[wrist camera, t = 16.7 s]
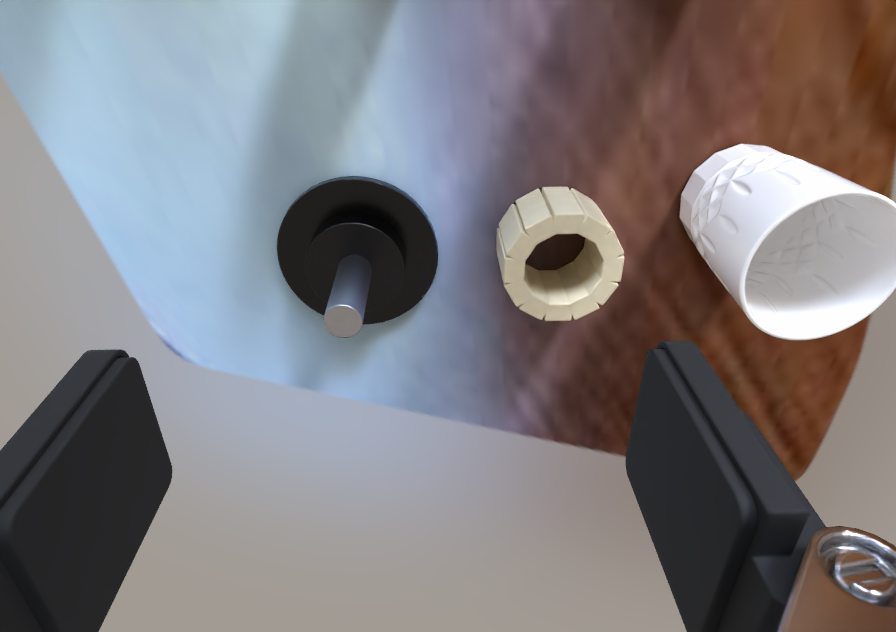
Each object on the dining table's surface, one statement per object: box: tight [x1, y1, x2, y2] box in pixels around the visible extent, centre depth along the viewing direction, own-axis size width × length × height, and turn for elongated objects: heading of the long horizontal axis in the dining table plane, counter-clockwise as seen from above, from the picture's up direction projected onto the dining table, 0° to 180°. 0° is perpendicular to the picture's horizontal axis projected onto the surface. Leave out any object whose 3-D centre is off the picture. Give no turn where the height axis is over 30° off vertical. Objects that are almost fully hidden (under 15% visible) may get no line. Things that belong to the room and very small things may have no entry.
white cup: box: [680, 144, 896, 340], centre depth 33 cm, size 8×8×10 cm
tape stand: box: [277, 176, 438, 338], centre depth 35 cm, size 10×10×8 cm
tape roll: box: [496, 187, 624, 321], centre depth 36 cm, size 7×7×4 cm
